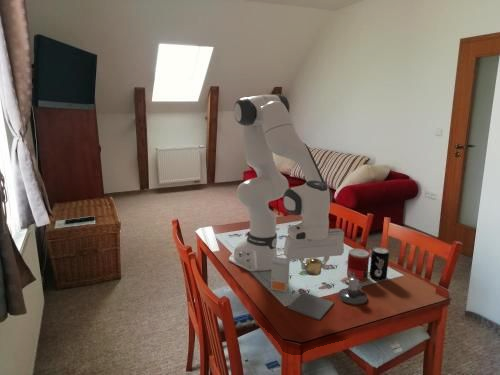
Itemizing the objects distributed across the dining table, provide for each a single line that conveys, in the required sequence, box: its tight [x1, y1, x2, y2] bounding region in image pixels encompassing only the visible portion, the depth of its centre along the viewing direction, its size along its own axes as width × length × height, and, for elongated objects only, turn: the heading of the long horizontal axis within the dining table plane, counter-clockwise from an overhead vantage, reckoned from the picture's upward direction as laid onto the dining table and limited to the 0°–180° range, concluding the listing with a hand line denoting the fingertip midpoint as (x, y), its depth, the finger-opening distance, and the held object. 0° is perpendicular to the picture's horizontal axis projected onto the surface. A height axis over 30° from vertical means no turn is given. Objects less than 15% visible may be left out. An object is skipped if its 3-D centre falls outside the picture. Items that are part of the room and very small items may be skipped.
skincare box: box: [270, 256, 291, 293], centre depth 140 cm, size 6×4×12 cm
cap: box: [305, 257, 322, 277], centre depth 126 cm, size 5×5×4 cm
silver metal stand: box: [338, 277, 368, 306], centre depth 135 cm, size 10×10×8 cm
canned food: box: [346, 248, 370, 282], centre depth 149 cm, size 8×8×11 cm
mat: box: [287, 291, 335, 321], centre depth 130 cm, size 12×12×1 cm
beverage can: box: [369, 246, 390, 281], centre depth 149 cm, size 7×7×12 cm
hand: (313, 268), depth 126 cm, fingers closed on cap, 5 cm apart
